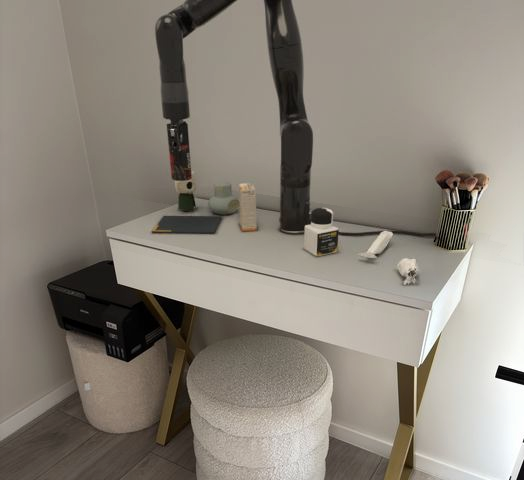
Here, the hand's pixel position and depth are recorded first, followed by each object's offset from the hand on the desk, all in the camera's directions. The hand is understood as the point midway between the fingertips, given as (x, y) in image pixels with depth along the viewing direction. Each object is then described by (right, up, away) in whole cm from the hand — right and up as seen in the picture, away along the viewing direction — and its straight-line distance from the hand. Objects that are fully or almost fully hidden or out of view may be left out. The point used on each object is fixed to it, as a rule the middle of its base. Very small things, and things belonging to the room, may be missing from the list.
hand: (180, 162), depth 156 cm
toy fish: (+57, -28, -4) cm, 63 cm away
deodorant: (0, -4, +3) cm, 5 cm away
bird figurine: (+61, -36, -18) cm, 74 cm away
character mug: (-3, -6, +33) cm, 34 cm away
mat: (0, -14, +19) cm, 23 cm away
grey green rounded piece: (+11, -7, +30) cm, 33 cm away
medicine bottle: (+41, -27, -2) cm, 49 cm away
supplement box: (+20, -15, +17) cm, 30 cm away
